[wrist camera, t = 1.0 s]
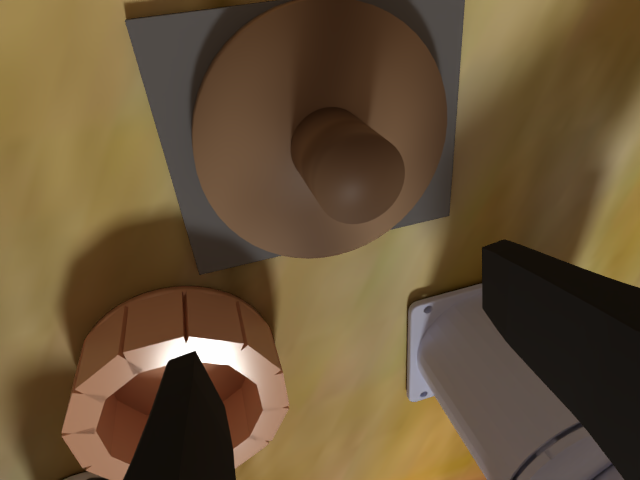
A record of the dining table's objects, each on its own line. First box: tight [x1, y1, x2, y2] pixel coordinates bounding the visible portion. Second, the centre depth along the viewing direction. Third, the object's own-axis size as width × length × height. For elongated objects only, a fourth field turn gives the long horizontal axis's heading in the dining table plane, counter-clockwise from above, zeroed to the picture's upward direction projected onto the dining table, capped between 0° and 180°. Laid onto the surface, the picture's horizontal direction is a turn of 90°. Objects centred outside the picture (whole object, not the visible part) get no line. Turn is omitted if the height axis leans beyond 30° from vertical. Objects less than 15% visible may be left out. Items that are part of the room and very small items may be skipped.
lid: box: [191, 0, 447, 258], centre depth 16 cm, size 10×10×4 cm
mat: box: [125, 0, 465, 275], centre depth 18 cm, size 12×10×1 cm
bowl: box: [61, 286, 289, 480], centre depth 21 cm, size 9×9×4 cm
